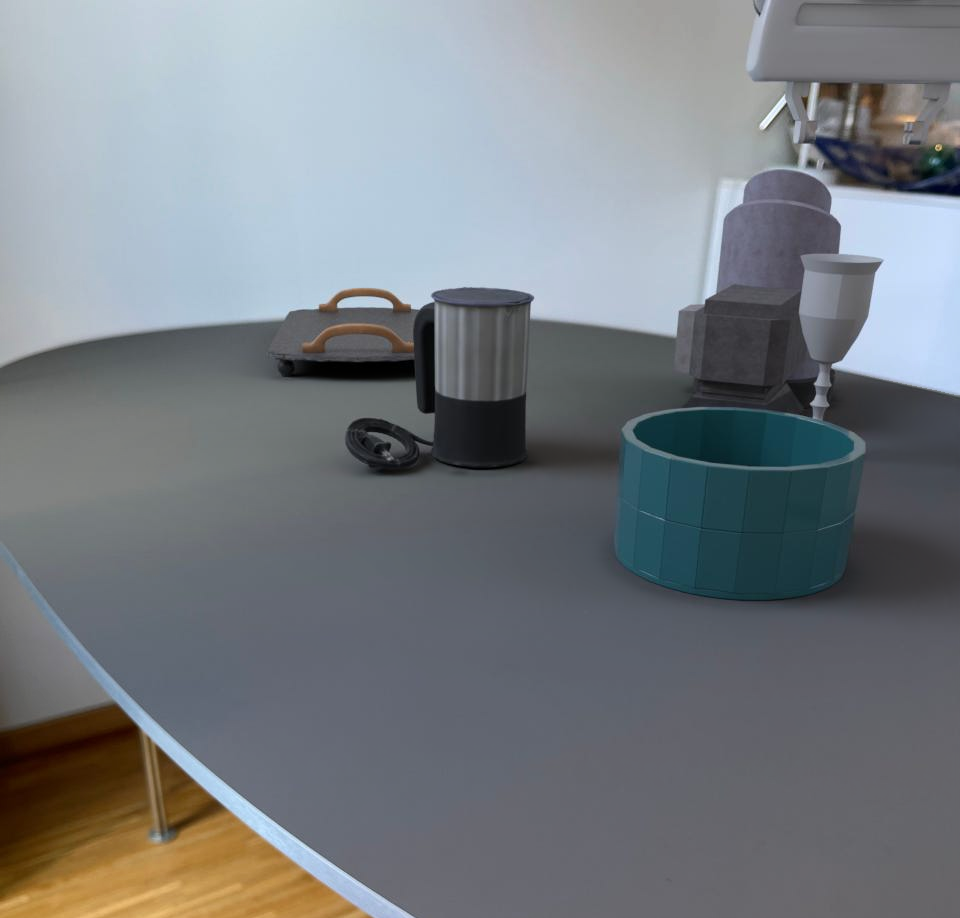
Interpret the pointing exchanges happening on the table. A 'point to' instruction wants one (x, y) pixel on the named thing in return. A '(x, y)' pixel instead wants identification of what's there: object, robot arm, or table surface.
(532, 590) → the table surface
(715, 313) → the juicer
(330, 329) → the serving tray
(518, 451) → the milk frother
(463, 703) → the table surface
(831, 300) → the chalice
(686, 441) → the pot
